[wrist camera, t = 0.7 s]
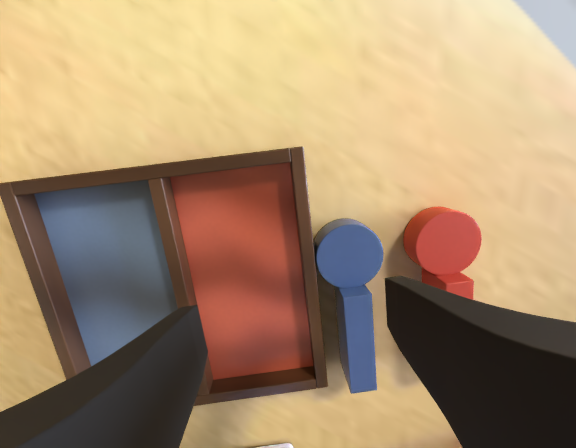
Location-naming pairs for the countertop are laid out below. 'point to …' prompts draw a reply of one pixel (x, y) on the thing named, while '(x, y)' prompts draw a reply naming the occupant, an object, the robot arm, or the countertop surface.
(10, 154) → the countertop surface
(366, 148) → the countertop surface
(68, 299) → the sorting tray
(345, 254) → the blue spoon
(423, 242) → the red spoon
